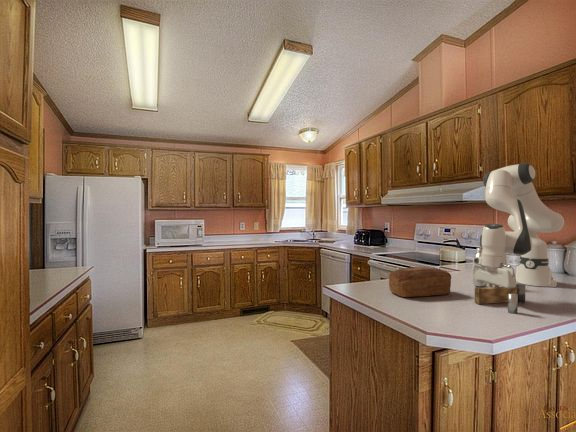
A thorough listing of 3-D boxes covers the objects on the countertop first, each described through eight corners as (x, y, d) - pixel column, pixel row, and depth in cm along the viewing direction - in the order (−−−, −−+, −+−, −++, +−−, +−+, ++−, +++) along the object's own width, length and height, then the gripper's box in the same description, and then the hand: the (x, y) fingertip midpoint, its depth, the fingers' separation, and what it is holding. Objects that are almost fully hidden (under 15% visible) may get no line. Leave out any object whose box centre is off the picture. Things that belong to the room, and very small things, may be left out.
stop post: (509, 310, 119) (509, 292, 119) (518, 312, 116) (518, 294, 116) (506, 312, 117) (506, 294, 117) (515, 314, 115) (516, 295, 115)
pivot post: (516, 300, 134) (516, 283, 133) (526, 302, 131) (526, 284, 131) (513, 301, 131) (513, 284, 131) (523, 303, 128) (523, 285, 128)
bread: (456, 296, 140) (456, 269, 140) (402, 300, 133) (402, 272, 133) (434, 288, 154) (435, 264, 154) (384, 292, 147) (385, 266, 147)
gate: (512, 300, 132) (512, 285, 132) (517, 302, 129) (517, 287, 129) (474, 302, 129) (474, 287, 129) (479, 304, 126) (479, 288, 126)
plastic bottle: (483, 285, 161) (483, 247, 161) (490, 288, 155) (490, 248, 154) (470, 284, 162) (470, 247, 162) (476, 288, 155) (477, 248, 155)
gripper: (521, 265, 122) (520, 300, 122) (482, 257, 142) (482, 287, 143) (506, 266, 121) (506, 300, 121) (470, 258, 141) (469, 287, 142)
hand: (492, 293), depth 132 cm, fingers closed
